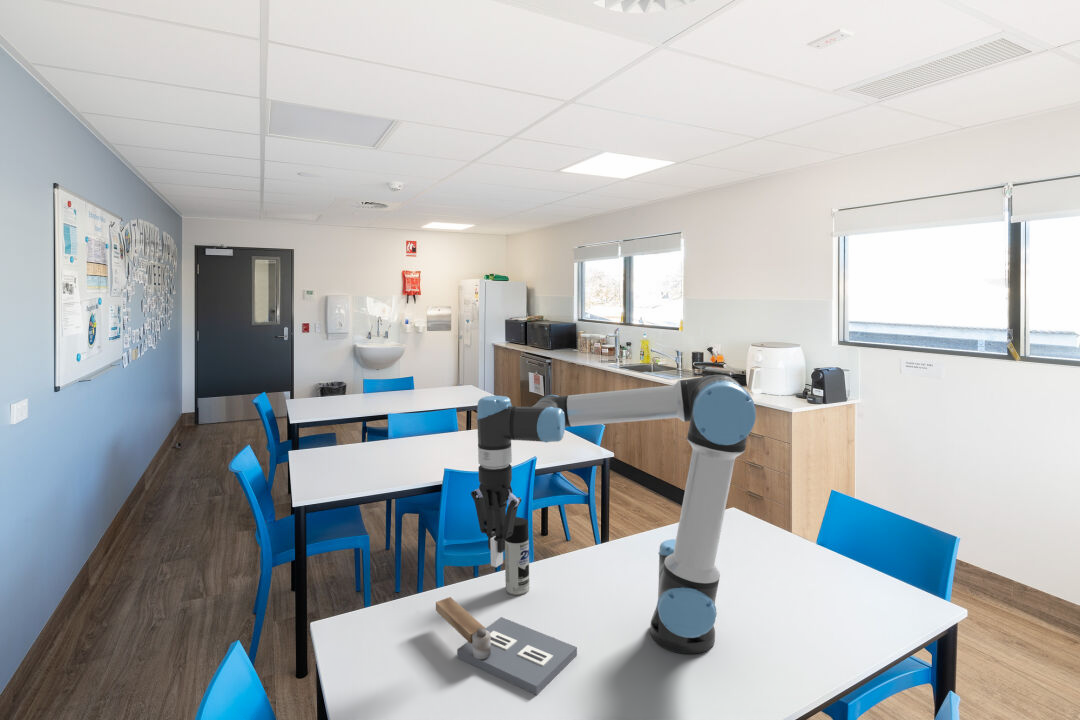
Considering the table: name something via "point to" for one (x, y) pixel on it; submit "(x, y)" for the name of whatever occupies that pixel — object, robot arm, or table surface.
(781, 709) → the table surface
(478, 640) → the swing bar
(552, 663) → the label board
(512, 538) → the spray can
